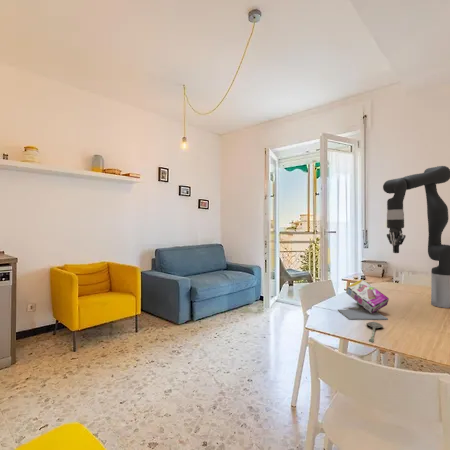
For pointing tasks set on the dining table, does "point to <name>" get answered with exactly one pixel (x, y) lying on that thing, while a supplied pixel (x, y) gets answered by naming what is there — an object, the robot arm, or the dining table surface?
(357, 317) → the mat
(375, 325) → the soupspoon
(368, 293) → the candy bar box
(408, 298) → the dining table surface
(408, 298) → the dining table surface
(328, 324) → the dining table surface
